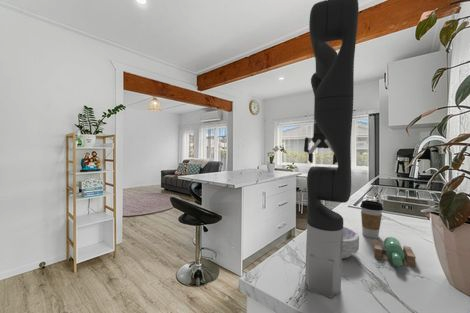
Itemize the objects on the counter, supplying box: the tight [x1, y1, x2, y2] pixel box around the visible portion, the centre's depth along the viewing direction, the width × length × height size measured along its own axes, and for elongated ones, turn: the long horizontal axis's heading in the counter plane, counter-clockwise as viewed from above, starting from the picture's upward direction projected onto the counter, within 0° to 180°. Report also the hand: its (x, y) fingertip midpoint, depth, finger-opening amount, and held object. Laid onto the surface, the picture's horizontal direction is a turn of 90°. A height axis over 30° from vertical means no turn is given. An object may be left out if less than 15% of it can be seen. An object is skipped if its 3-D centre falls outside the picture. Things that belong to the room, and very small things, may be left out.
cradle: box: [373, 239, 416, 268], centre depth 75 cm, size 8×11×3 cm
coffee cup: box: [360, 200, 384, 239], centre depth 92 cm, size 8×8×15 cm
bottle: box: [383, 236, 405, 268], centre depth 72 cm, size 5×5×15 cm
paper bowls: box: [342, 226, 360, 260], centre depth 77 cm, size 15×15×8 cm
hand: (322, 163), depth 84 cm, fingers open, 8 cm apart
